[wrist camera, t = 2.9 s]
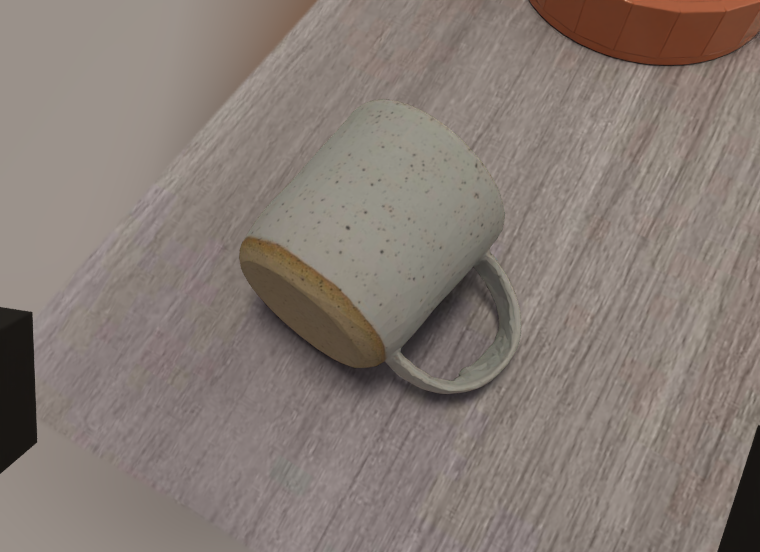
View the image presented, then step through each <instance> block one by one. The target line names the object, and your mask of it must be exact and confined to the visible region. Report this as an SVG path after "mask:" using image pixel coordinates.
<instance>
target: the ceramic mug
mask: <svg viewBox="0 0 760 552" xmlns="http://www.w3.org/2000/svg"><path fill="white" fill-rule="evenodd" d="M504 218H505V212H504V207H503V202H502V199H501V196H500V193H499V190H498V187H497V186H496V184H495V182H494V180H493V178H492V177H491V175H490V174H489V172H488V171H487V169H486V168H485V166H484V165H483V163H482V162H481V161H480V159H479V158H478V157H477V156H476V155H475V154H474V152H473V151H472V150H471V149H470V148H469V147H468V146H467V145H466V144H465V143H464V142H463V141H462V140H461V139H460V138H459V137H458V136H457V135H456V134H455V133H454V132H452V131H451V130H450V129H449V128H447V127H446V126H445V125H444V124H442V123H441V122H439V121H438V120H436V119H435V118H434V117H432V116H430V115H429V114H427V113H425V112H424V111H421V110H419V109H417V108H415V107H412V106H410V105H407V104H404V103H400V102H397V101H393V100H383V99H381V100H374V101H370V102H367V103H365V104H364V105H362V106H360V107H358V108H357V109H356V110H355V111H354V112H353V113H352V114H351V115H350V116H349V117H348V119H347V120H346V121H345V122H344V123H343V124H342V125H341V127H340V128H339V129H338V130H337V131H336V132H335V133H334V134H333V135H332V137H331V138H330V139H329V140H328V141H327V142H326V143H325V144H324V145H323V146H322V148H321V149H320V150H319V151H318V152H317V153H316V154H315V155H314V156H313V157H312V158H311V160H310V161H309V162H308V163H307V164H306V165H305V166H304V167H303V168H302V170H301V171H300V172H299V173H298V174H297V175H296V177H295V178H294V179H293V180H292V181H291V182H290V183H289V184H288V185H287V186H286V187H285V188H284V189H283V190H282V191H281V192H280V193H279V195H278V196H277V197H276V198H275V199H274V200H273V201H272V202H271V203H270V204H269V205H268V206H267V207H266V209H265V210H264V211H263V212H262V214H261V215H260V216H259V217H258V219H257V220H256V221H255V223H254V225H253V226H252V228H251V229H250V231H249V233H248V234H247V236H246V237H245V239H244V240H243V242H242V245H241V248H240V255H239V259H240V264H241V269H242V271H243V273H244V275H245V277H246V279H247V281H248V282H249V284H250V285H251V287H252V288H253V289H254V291H255V292H256V293H257V294H258V296H259V297H260V298H261V299H262V300H263V301H264V302H265V304H266V305H267V306H268V307H269V308H270V309H271V310H272V311H273V312H274V313H275V314H276V315H277V316H278V317H279V318H280V319H281V320H282V321H283V322H284V323H286V324H287V325H288V326H289V327H290V328H291V329H293V330H294V331H295V332H296V333H297V334H298V335H300V336H301V337H302V338H303V339H305V340H306V341H308V342H309V343H310V344H311V345H313V346H314V347H315V348H317V349H318V350H320V351H321V352H323V353H325V354H326V355H328V356H329V357H331V358H333V359H334V360H337V361H339V362H341V363H343V364H345V365H348V366H351V367H354V368H367V367H374V366H378V365H379V364H381V363H383V362H386V363H387V364H388V365H389V367H390V368H392V369H393V370H394V372H395V373H396V374H397V375H399V376H400V377H401V378H403V379H405V380H406V381H408V382H410V383H412V384H414V385H415V386H417V387H419V388H421V389H424V390H427V391H431V392H435V393H441V394H452V393H462V392H467V391H471V390H474V389H477V388H480V387H482V386H483V385H485V384H486V383H489V382H490V381H491V380H493V379H494V378H495V377H496V376H497V375H498V374H499V373H500V372H501V371H502V370H503V369H504V368H505V367H506V365H507V364H508V363H509V362H510V360H511V359H512V357H513V355H514V353H515V351H516V349H517V347H518V344H519V341H520V336H521V315H520V308H519V304H518V301H517V298H516V294H515V291H514V289H513V287H512V285H511V282H510V280H509V279H508V277H507V275H506V274H505V272H504V271H503V269H502V267H501V266H500V264H499V263H498V262H497V260H496V259H495V257H494V256H493V255H492V254H491V253H490V247H491V246H492V244H493V243H494V242H495V241H496V239H497V238H498V236H499V235H500V233H501V232H502V229H503V225H504ZM473 267H474V268H475V269H476V271H477V272H478V273H479V275H480V276H481V277H482V279H483V281H484V282H485V284H486V285H487V287H488V289H489V291H490V293H491V295H492V297H493V299H494V301H495V303H496V307H497V312H498V317H499V331H498V334H497V335H496V339H495V342H494V343H493V344H492V345H491V346H490V347H489V348H488V349H487V351H486V352H485V353H484V354H483V355H482V356H481V357H480V358H479V359H478V360H477V361H476V362H475V363H474V364H473V365H471V366H470V367H465V368H463V369H462V370H461V372H460V373H459V377H457V378H455V379H454V381H449V380H443V379H439V378H433V377H431V376H430V375H429V374H427V373H425V372H424V371H422V370H421V369H419V368H418V367H416V366H414V365H413V364H412V363H411V362H410V360H408V359H406V358H405V357H404V356H403V355H402V353H401V352H400V351H401V348H402V347H403V345H404V344H405V343H406V342H407V341H408V340H409V339H410V338H411V337H412V336H413V334H414V333H415V332H416V331H417V330H418V329H419V327H420V326H421V325H422V324H423V323H424V321H425V320H426V319H427V318H428V316H429V315H430V314H431V312H432V311H433V310H434V309H435V308H436V307H437V306H438V304H439V303H440V302H441V301H442V300H443V299H444V298H445V297H446V296H447V295H448V294H449V293H450V292H451V291H452V290H453V288H454V287H455V286H456V285H457V284H458V283H459V282H460V281H461V280H462V279H463V278H464V277H465V275H466V274H467V273H468V272H469V271H470V270H471V269H472V268H473Z"/></svg>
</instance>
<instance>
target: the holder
mask: <svg viewBox="0 0 760 552" xmlns="http://www.w3.org/2000/svg"><path fill="white" fill-rule="evenodd" d="M529 1H530V2H531V4H532V5H533V6H534V8H535V9H536V10H537V11H538V12H539V14H540V15H541V16H542V17H543V18H544V19H545V20H546V21H547V22H549V23H550V24H551V25H552V26H553V27H554V28H556V29H557V30H559V31H560V32H561V33H563V34H564V35H566V36H567V37H569V38H571V39H572V40H574V41H576V42H577V43H579V44H582V45H584V46H586V47H588V48H590V49H592V50H594V51H597V52H600V53H603V54H606V55H608V56H611V57H615V58H619V59H623V60H627V61H632V62H638V63H644V64H655V65H684V64H692V63H700V62H704V61H708V60H712V59H716V58H718V57H721V56H724V55H727V54H729V53H731V52H733V51H735V50H736V49H738V48H740V47H742V46H743V45H744V44H746V43H747V42H748V41H750V40H751V39H752V38H753V37H754V36H755V35H756V34H757V33H758V32H759V31H760V0H529Z"/></svg>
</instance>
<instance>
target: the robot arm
mask: <svg viewBox="0 0 760 552" xmlns="http://www.w3.org/2000/svg"><path fill="white" fill-rule="evenodd" d="M36 443H37V423H36V397H35V370H34V344H33V317H32V312H28V311H21V310H16V309H9V308H2V307H0V474H1V473H2V472H3V471H4V470H5V469H6V468H8V467H9V466H10V465H11V464H12V463H13V462H15V461H16V460H17V459H18V458H19V457H20V456H22V455H23V454H24V453H25V452H26V451H27V450H29V449H30V448H31V447H32V446H33V445H34V444H36ZM718 552H760V425H758V427H757V430H756V433H755V437H754V440H753V443H752V446H751V449H750V452H749V455H748V458H747V461H746V465H745V468H744V471H743V474H742V477H741V480H740V483H739V486H738V489H737V493H736V496H735V499H734V502H733V505H732V508H731V511H730V514H729V517H728V521H727V524H726V527H725V530H724V533H723V536H722V539H721V542H720V545H719V548H718Z"/></svg>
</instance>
